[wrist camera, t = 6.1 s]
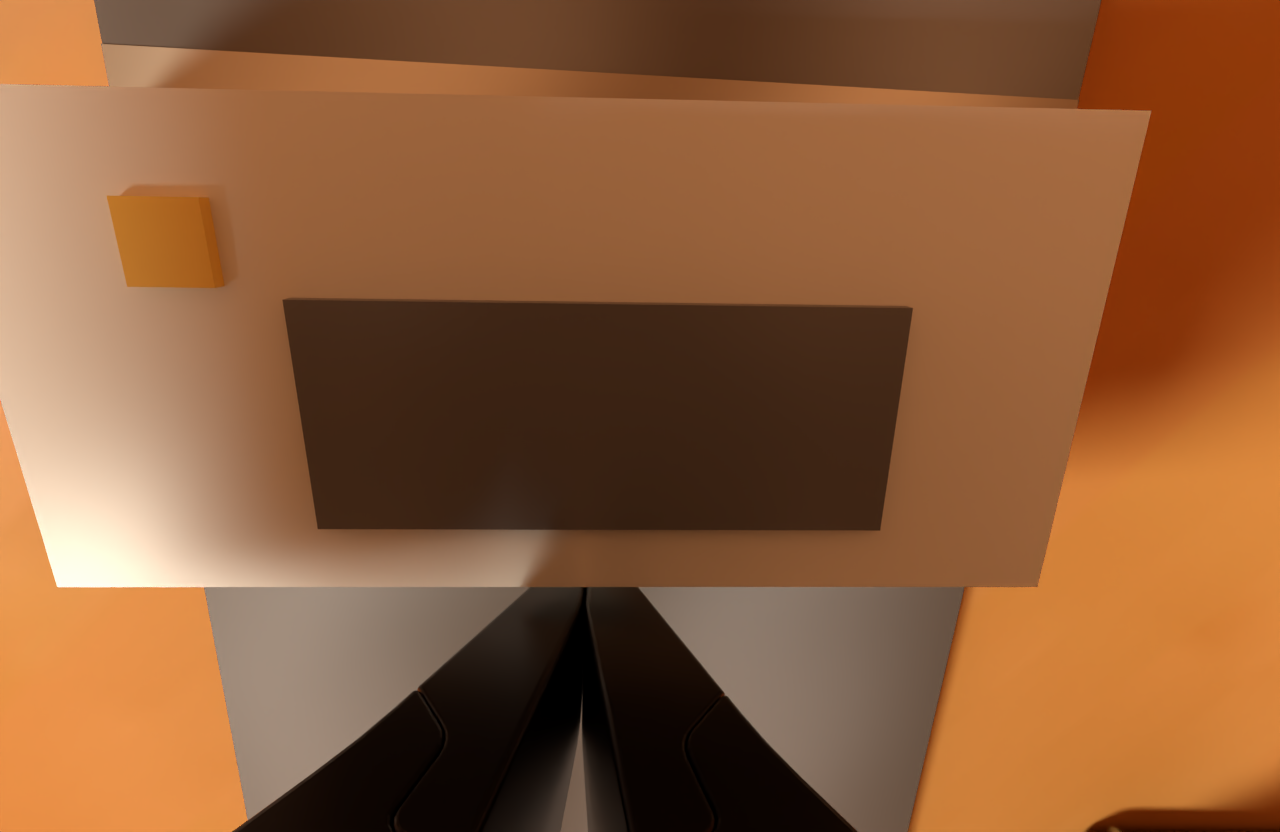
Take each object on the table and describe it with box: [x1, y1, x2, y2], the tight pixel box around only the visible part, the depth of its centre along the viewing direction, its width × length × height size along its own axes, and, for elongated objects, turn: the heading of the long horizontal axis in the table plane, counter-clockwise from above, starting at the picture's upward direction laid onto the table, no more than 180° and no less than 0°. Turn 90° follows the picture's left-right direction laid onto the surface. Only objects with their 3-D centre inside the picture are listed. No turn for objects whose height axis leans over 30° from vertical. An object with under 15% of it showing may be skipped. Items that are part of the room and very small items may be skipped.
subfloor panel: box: [94, 0, 1101, 832], centre depth 10 cm, size 12×20×1 cm, turn 177°
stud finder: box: [0, 84, 1151, 587], centre depth 8 cm, size 11×5×3 cm, turn 89°
